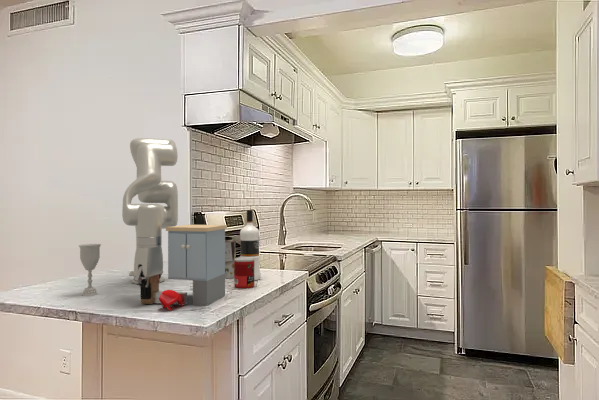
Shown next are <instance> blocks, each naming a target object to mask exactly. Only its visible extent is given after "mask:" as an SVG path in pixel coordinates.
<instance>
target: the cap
mask: <svg viewBox="0 0 599 400" xmlns="http://www.w3.org/2000/svg"><path fill="white" fill-rule="evenodd" d="M177 292H178V291H175V290H173V289H166V290H163V292H162V293H161V295H160V297H159V301H160V302H161V303H160V304H161V305H162V308H163V309H167V310H168V311H169V312H171V311H172V308H171V305H174V304H173V303H175V302H176V301H177V302H178V303H179V304H178V305H180V307H184V306H183V305H182V303H181V301H182V298H181V296H180V294H179V293H177Z"/></svg>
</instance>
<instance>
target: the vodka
mask: <svg viewBox="0 0 599 400" xmlns="http://www.w3.org/2000/svg"><path fill="white" fill-rule="evenodd" d="M253 212H254V211H253V210H252V209H247V210H246V225H245V226H244V227H242V228H241V229H240V231H239V236H240V238H239V239H240V256H239V258H254V282H256V281H259V280H260V279H261V278H262V276H261V275H262V274H261V270H260V230H259V228H257V227H256V226H255V225H254V222H253V215H254V214H253Z"/></svg>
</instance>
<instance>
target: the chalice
mask: <svg viewBox="0 0 599 400" xmlns="http://www.w3.org/2000/svg"><path fill="white" fill-rule="evenodd" d="M101 246H102V244H101V243H87V244H86V243H85V244H79V245H78V247H79V249H80V250H79V256H80V257H79V258H80V259H79V260H80V262H81V265H82V266H83V268H84V270H85V271H87V272H88V274H87V277H88V278H87V284H88V285H87V287H86V288H84V291H83V293H82V294H81V296H83V297H90V296H91V297H92V296H95V295H98V294H99V293H98V291H97V289H96V288H95V287H94V286H93V285H92V284H93V283H92V282H93V279H92V277H93V274H92V271H93V270H95V269H96V267H97V265H98V263H99V260H100V252H101V251H100V248H101Z"/></svg>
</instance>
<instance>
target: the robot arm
mask: <svg viewBox="0 0 599 400" xmlns="http://www.w3.org/2000/svg"><path fill="white" fill-rule="evenodd" d="M129 149H130V154H131V156H132V159H133V161H134V164H135V166H136V167H135V168H136V178H135V180H134V181H133V182H132V183H130V184H129V185H128V187H127V188H126V189H125V191H124V193H123V198H122V214H121V215H122V221H123V223H124V224H125V225H127V226H132V227H135V242H136V243H135V244H136V245H135V247H136V248H135V254H134V261H133V270H131V271H130V272H129V273H128V276H129V277H133V279H132V284H135V285H138V286H139V288H140V295H139V296H140V297H139V298H140V300H141V299H150V287H149V279H150V277H151V276H154V275H157V274H159V283H162V282H165V277H164V276H162V275H163V274H164V257H163V255H164V254H163V247H162V245H163V244H162V243H163V240H162V237H163V236H162V233H163V232H162V229H164V230H166V227H172V226H178V222H179V214H178V213H179V205H178V204H179V200H178V199H179V197H178V196H179V194H178V193H179V192H178V186H177V184H176V183H175V182H174V181H172V180H162V167H173V166H175V165H177V162H178V155H179V154H178V149H177V146H176V142H175V141H174V140H172V139H165V138H152V137H151V138H148V137H141V138H139V137H137V138H134V139H132V140H131V141H130V143H129ZM135 196H137V197H138V200H139V202H141V203H132V200H133V199H134V198H135ZM162 204H166V205H165V206H164V205H162ZM143 276H144V277H143ZM144 279H146V282H145V281H144Z"/></svg>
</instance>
